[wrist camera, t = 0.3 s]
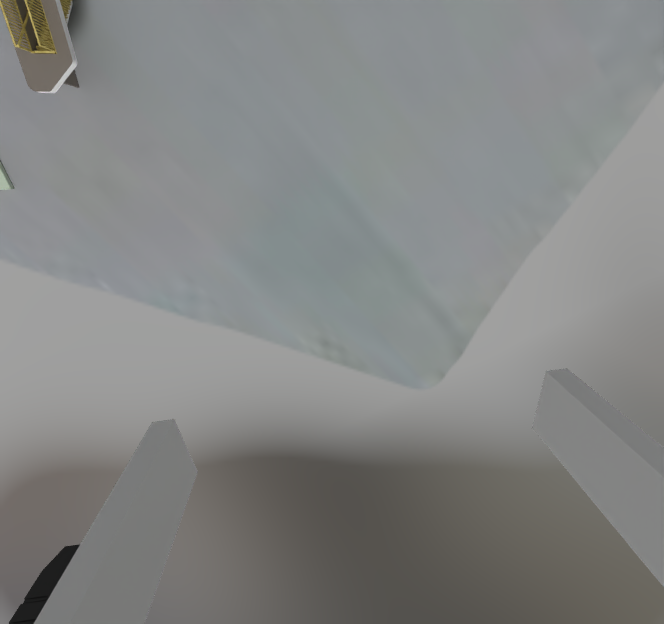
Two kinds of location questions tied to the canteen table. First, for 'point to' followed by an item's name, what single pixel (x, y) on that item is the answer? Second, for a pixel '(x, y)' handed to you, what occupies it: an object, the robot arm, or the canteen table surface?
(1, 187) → the pad
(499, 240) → the canteen table surface
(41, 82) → the platform
